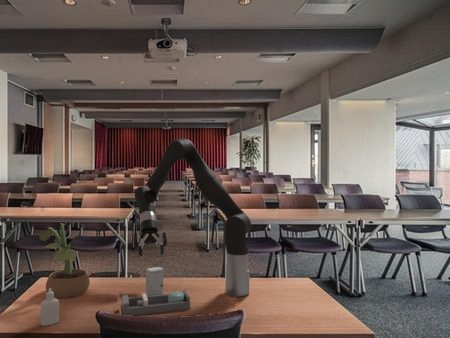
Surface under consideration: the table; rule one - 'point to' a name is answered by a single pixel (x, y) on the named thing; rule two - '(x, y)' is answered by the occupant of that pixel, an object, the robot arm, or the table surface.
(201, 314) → the table surface
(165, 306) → the pusher lane
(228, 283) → the robot arm
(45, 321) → the eye dropper bottle
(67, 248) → the potted plant
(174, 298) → the teal jar
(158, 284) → the skincare box
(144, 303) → the spring paddle
